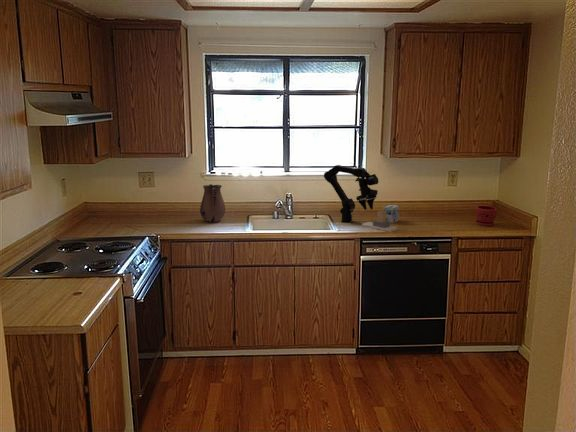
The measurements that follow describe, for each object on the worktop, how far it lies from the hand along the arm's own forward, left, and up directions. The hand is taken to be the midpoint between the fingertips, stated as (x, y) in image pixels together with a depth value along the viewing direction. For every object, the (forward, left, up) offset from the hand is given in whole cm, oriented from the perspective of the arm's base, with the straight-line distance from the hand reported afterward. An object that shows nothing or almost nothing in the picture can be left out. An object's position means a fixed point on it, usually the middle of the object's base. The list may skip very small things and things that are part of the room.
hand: (368, 209), depth 332 cm
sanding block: (+9, -7, -9) cm, 15 cm away
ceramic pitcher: (-106, -14, -11) cm, 107 cm away
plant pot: (+76, +19, -11) cm, 79 cm away
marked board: (+8, -6, -11) cm, 15 cm away
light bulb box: (+14, +14, -11) cm, 23 cm away
